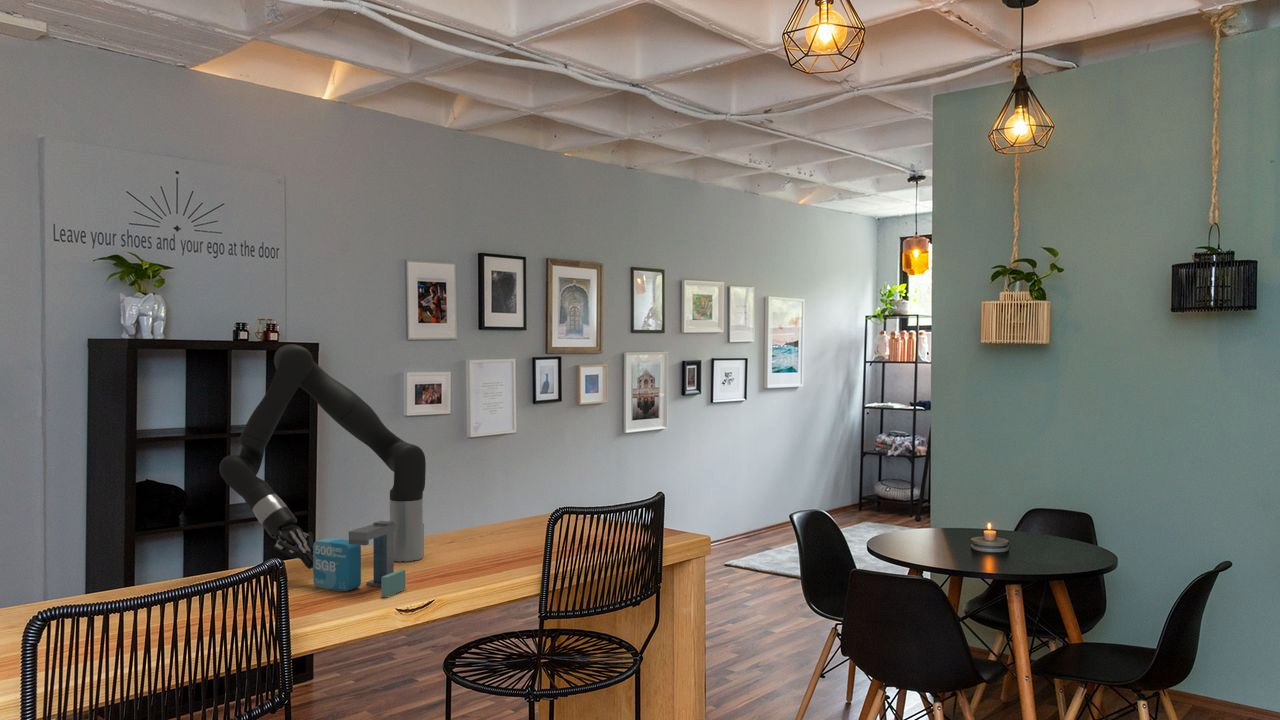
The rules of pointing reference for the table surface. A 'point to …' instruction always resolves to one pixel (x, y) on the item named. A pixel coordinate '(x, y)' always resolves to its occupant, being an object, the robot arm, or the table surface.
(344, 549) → the data package
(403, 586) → the end catch
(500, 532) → the table surface
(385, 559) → the lug bracket
